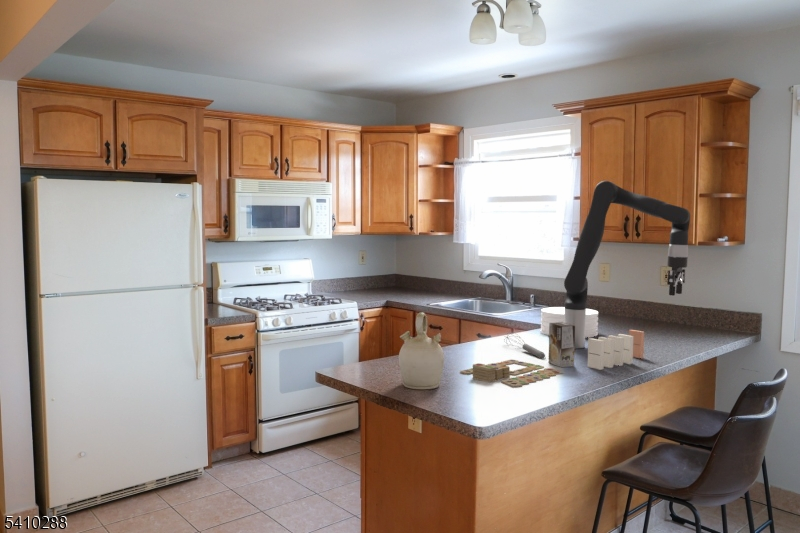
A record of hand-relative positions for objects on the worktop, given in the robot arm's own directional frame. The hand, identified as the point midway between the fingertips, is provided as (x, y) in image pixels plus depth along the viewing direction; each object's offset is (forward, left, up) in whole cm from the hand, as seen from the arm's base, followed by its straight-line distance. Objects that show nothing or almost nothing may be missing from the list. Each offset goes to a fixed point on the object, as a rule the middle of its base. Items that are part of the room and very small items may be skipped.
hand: (675, 294), depth 265 cm
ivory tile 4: (-26, -37, -26) cm, 52 cm away
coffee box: (-39, -37, -26) cm, 60 cm away
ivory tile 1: (-17, -21, -26) cm, 38 cm away
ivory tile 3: (-23, -32, -26) cm, 47 cm away
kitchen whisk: (-58, -18, -27) cm, 66 cm away
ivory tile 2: (-20, -26, -26) cm, 42 cm away
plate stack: (-50, +38, -27) cm, 68 cm away
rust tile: (-14, -8, -26) cm, 31 cm away
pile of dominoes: (-52, -60, -27) cm, 84 cm away
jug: (-75, -92, -26) cm, 122 cm away
